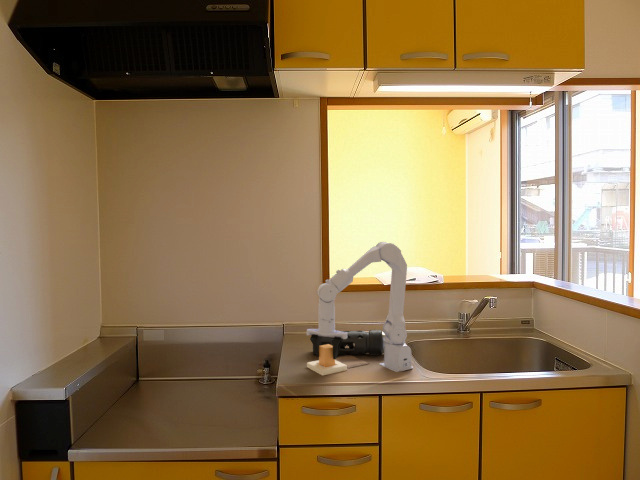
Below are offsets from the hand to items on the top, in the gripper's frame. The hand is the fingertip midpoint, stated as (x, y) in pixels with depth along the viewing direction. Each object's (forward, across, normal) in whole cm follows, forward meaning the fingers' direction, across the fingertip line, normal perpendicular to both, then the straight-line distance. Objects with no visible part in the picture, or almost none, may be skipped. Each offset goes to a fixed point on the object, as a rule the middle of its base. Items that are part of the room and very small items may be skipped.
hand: (326, 357), depth 157 cm
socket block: (+4, 0, 0) cm, 4 cm away
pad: (+4, -5, -10) cm, 12 cm away
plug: (+3, 0, 0) cm, 3 cm away
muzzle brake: (0, 0, -25) cm, 25 cm away
